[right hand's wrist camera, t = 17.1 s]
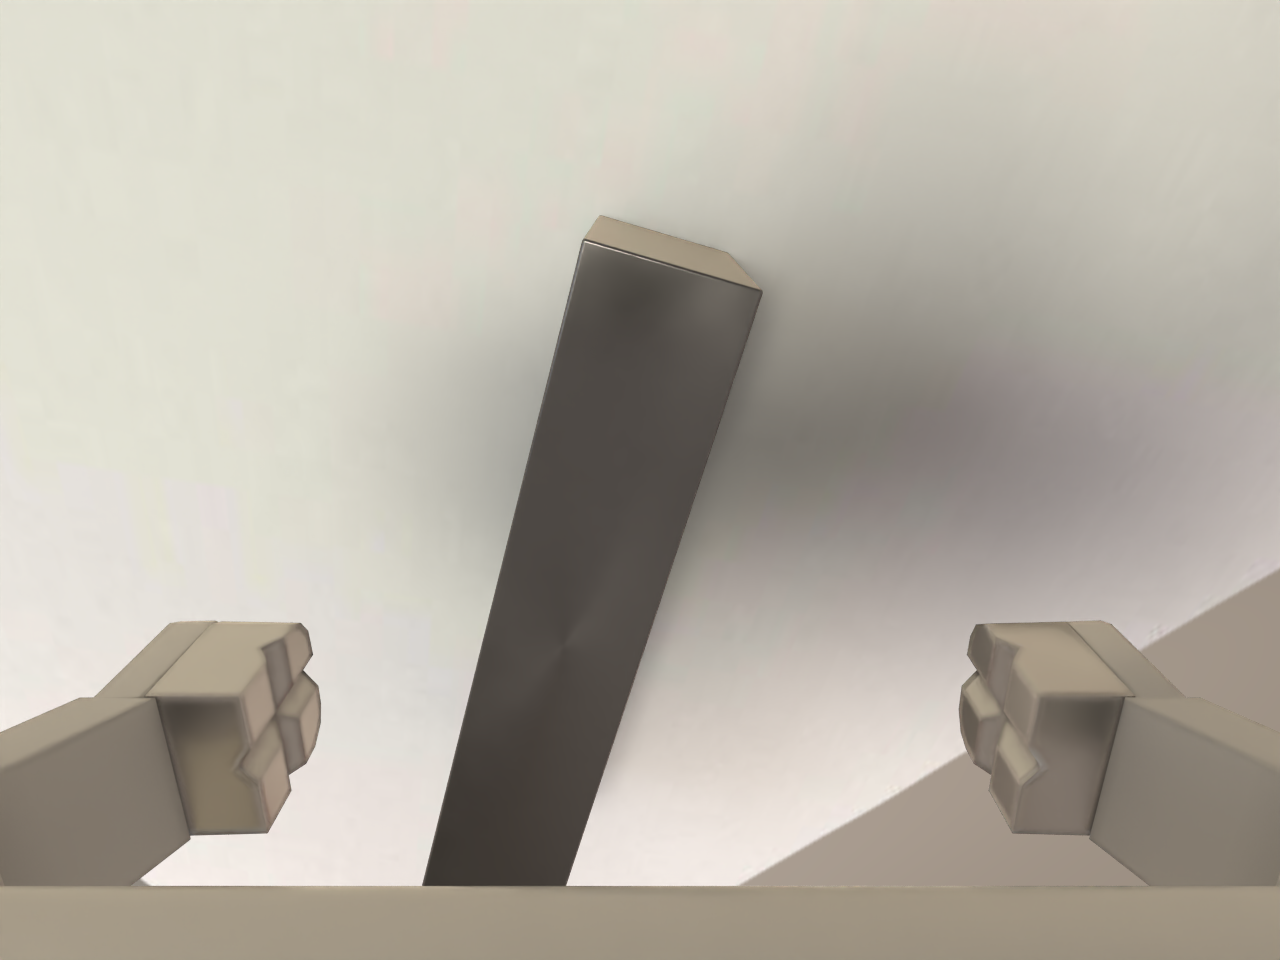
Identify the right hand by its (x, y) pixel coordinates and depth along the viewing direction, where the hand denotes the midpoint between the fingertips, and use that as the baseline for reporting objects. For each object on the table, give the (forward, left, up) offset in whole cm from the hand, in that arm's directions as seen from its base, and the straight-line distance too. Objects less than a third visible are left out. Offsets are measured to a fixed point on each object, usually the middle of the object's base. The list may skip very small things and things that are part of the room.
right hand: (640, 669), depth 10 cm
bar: (0, +9, -24) cm, 25 cm away
